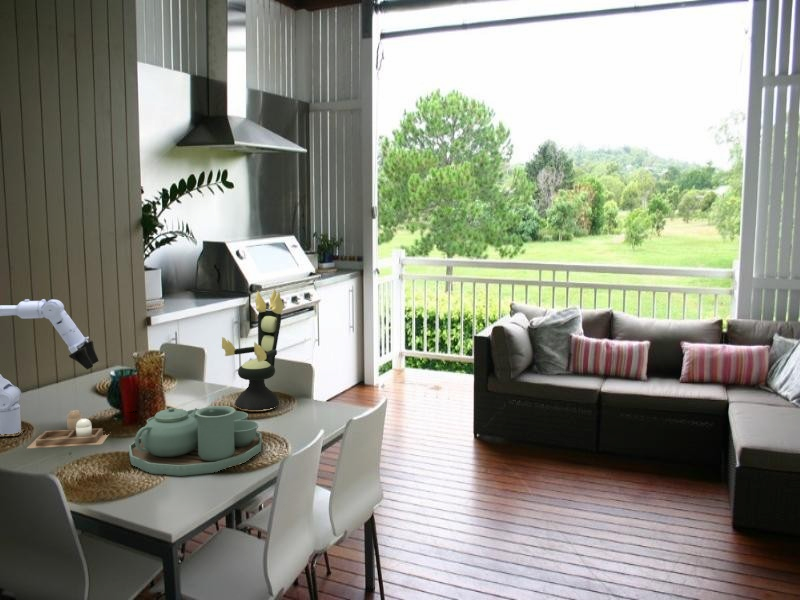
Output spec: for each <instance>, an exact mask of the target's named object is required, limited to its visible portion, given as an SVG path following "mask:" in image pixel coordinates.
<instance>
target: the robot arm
mask: <svg viewBox="0 0 800 600" xmlns="http://www.w3.org/2000/svg"><path fill="white" fill-rule="evenodd" d="M5 316H6V317H7V316H17V317H19V318H20V319H22V320H23V319H26V320H27V319H28V320H29V319H43V318H45V319H46V320H49V322H50V323H51V324H52V326H53V327H54V329H55V330H56V332H57V333H58V334H59V336H60V337H61V339H62V340H63V341H64V342H65V345H66V346H67V347H68V351H69V352H70V353H71V354H69V355H68V356H69V358H70V359H72V360H74V361H76V362H77V363H78V364H80V365H81V366H82V367H84V368H85V369H86V370H90V369H91V368H93V366H94V365H95V364H97V363H98V362H99V358H98V355H97V353H96V351H95V348H94V347H95V346H94V341H93V340H90V341H89V339H90V337H89V336H86V337H85V336H84V335H83V333H82V332H81V330H80V329H79V328H78V326H77V325H76V323H75V322H74V321H73V319H72V318H71V317H70V315H69V314H68V313H67V311H66V310H65V305H64V303H63V302H62V301H61V300H58V299H54V298H53V299H49V300H47V301H46V299H45V298H43V299H41V300H30V299H29V298H27V299H26V298H25V299H24V300H22V301H20V302H19V303H18V304H17V305H9V304H8V305H5V304H4V305H0V317H5ZM21 397H22V390H21V389H20V388H19V387H17V386H15V385H14V384H12V383H11V381H10V380H8V379H6V378H4V377H3V376H2V374H1V373H0V434H1V435H4V434H14V433H18V432H20V431H21V428H22V421H21V420H22V419H21V406H20V404H19V400H20V399H21Z"/></svg>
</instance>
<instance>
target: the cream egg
mask: <svg viewBox="0 0 800 600" xmlns="http://www.w3.org/2000/svg"><path fill="white" fill-rule="evenodd" d="M92 429H93V427H92V422H91V420H89V419H88V418H82V419H80V420H79V421H78V422H77V423H76V429H75V430H76V437H92Z"/></svg>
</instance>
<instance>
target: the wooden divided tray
mask: <svg viewBox="0 0 800 600" xmlns="http://www.w3.org/2000/svg"><path fill="white" fill-rule="evenodd" d="M103 429H104V428H103V427H100V428H92V437H76V429H75V430H70V429H63V430H62V429H61V430H60V429H59V430H45V431H44V432H43V433H42V434H39V436H38V437H36V439H35V440H33V442H31V444H29V445H28V446H27V447H26V448H25V449H41V448H42V449H43V448H61V447H62V448H63V447H77V446H97V445H100V446H101V445H103V443H105V441H106V439H108V437H109V435H110V434H108V435H106V434H105V435H103V432H104V430H103Z"/></svg>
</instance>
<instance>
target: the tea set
mask: <svg viewBox="0 0 800 600" xmlns="http://www.w3.org/2000/svg"><path fill="white" fill-rule="evenodd" d="M248 417H249V414H248V412H244V411H240V410H237V409H235V408H234V407H232V406H228V405H207V406H206V407H201V408H194V409H190V410H185V409H184V408H175V407H169V408H166V409H163V410H159V411H157V412H156V414H155V415H154V416H152V417H149V418H148V419H146V424H145V426H143V427H141V428H139V430H138V431H137V433H136V435H135V437H134V441H133V442H132V443H131V444H129V445H128V455H129V460H130V464H131V465H133V466H132V467H134V466H135V467H134V468H136V467H138V468H137V469H139V468H140V469H139V470H141V469H142V470H141V471H144V472H146V473H148V472H149V474H153V475H163V474H166V475H165V476H178V477H185V476H193V475H194V476H195V475H204V474H205V475H206V474H212V473H213V474H214V472H215V473H219V472H221V471H220V470H222V469H224V468H227V467H229V466H233V465H236V464H239V463H243V462H245V461H247V460H248V459H250V458H251V457H253V456H254V455H256V454H257V453H259V452H260V453H261V452H262V443H263V442H262V438H263V436H262V435H263V434H262V433H261V432H259V431H257V430H258V428H259V423H258V422H256V421H255V420H247V419H248ZM260 453H259V454H260ZM256 456H257V455H256ZM253 458H254V457H253ZM218 471H219V472H218ZM222 471H223V470H222Z"/></svg>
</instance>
